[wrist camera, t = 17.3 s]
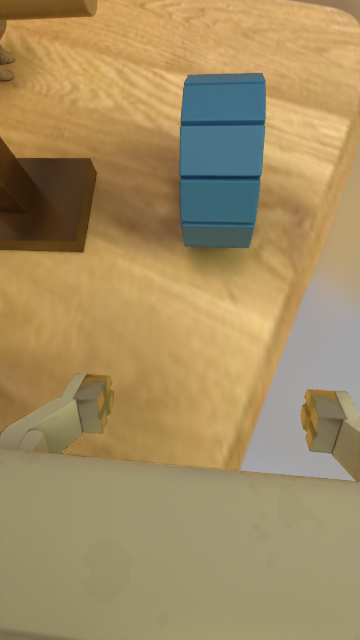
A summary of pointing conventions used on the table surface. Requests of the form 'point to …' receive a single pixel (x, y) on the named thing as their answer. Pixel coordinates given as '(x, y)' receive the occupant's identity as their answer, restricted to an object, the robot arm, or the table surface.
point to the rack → (45, 169)
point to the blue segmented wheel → (221, 158)
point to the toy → (5, 56)
